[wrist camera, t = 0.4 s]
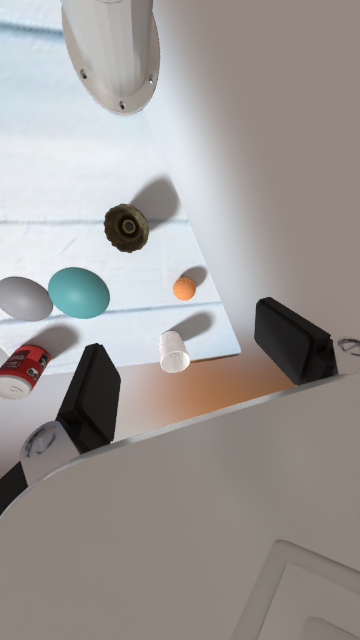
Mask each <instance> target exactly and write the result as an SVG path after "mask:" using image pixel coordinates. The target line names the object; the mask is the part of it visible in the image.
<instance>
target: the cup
mask: <svg viewBox="0 0 360 640" xmlns="http://www.w3.org/2000/svg"><path fill="white" fill-rule="evenodd" d="M127 222H131V223H132V224H133V229H132V230H131V231H128V230H127V229H126V228H125V224H126V223H127ZM104 226H105V234H106V235H107V236H106V237H107V239H108V240H109V241H111V242H112V246H115V247H117V249H118V250H119V251H121V252H128V253H132V251H136V250H138V249H139V250H140V249H142V247H143V246H144V245H145V244H146V243H147V240H148V235H149V231H148V223H147V221H146V219H145V217H144V216H143V215H142V213H141V212H140V211H139V210H137V209H136V208H135V207H134V206H131V205H127V204H120V205H119V206H115V207H114V208H111V209H110V211H108V212H107V213H106V215H105V221H104Z"/></svg>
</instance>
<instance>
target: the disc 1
mask: <svg viewBox="0 0 360 640" xmlns="http://www.w3.org/2000/svg"><path fill="white" fill-rule="evenodd" d="M52 307H53V304H52V300H51V299H50V296H49V294H48V293H47V292H46V291H45V290H44V289H43V288H42V287H41V286H40V285H38V284H36V283H35V282H33V281H30V280H28V279H24V278H18V277H11V278H6V279H3V280H1V281H0V308H1V309H2V310H3V311H4V312H6V313H7V314H9V315H10V316H12V317H14V318H17V319H20V320H24V321H39V320H42V319H44V318H46V317H47V316H48V315H49V314H50V313H51V311H52Z"/></svg>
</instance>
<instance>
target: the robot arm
mask: <svg viewBox="0 0 360 640" xmlns="http://www.w3.org/2000/svg"><path fill="white" fill-rule="evenodd" d="M60 1H61V3H62V8H61V10H62V27H63V33H64V39H65V43H66V46H67V50H68V53H69V56H70V59H71V61H72V64H73V66H74V69H75V71H76V73H77V75H78V77H79V79H80V81H81V82H82V84H83V85H84V87H85V89H86V90H87V91H88V93H89V94H90V95H91V96H92V98H93V99H94V100H95V101H96V102H98V103H99V104H100V105H101V106H102V107H104V108H105V109H107V110H108V111H110V112H112V113H115V114H118V115H131V114H135V113H137V112H139V111H140V110H142V109H143V108H144V107H145V106H146V105H147V103H148V102H149V101H150V99H151V97H152V95H153V93H154V91H155V88H156V84H157V80H158V74H159V66H160V47H159V38H158V32H157V27H156V23H155V20H154V16H153V13H152V6H153V0H60ZM84 76H86V77H87V78H86V79H84V78H83V77H84ZM149 81H152V82H153V84H151V83H150V82H149ZM121 106H124V109H122V108H121ZM330 336H331V335H330V334H329V333H327V332H325V331H324V330H322V329H321V328H319V327H317V326H316V325H314V324H313V323H311V322H309V321H308V320H306V319H305V318H303V317H301V316H300V315H298V314H297V313H295V312H293V311H292V310H290V309H289V308H287V307H285V306H284V305H282V304H281V303H279V302H278V301H276V300H274V299H273V298H271V297H267V298H263V299H260V300H259V301H258V302H257V304H256V317H255V335H254V338H255V341H256V343H257V344H258V345H259V346H260V347H261V348H262V349H263V350H264V351H265V353H266V354H267V355H268V356H269V357H270V358H271V359H272V360H273V361H274V362H275V363H276V365H277V366H278V367H279V368H280V369H281V370H282V371H283V372H284V373H285V374H286V376H288V378H289V379H290V380H291V381H292V382H293V383H294V384H295V385H298V386H296V387H293V388H289V389H286V390H283V391H279V392H276V393H273V394H270V395H266V396H263V397H259V398H256V399H253V400H249V401H246V402H243V403H240V404H236V405H233V406H230V407H226V408H223V409H220V410H217V411H213V412H210V413H207V414H204V415H200V416H198V417H194V418H191V419H187V420H184V421H181V422H178V423H175V424H171V425H169V426H165V427H162V428H158V429H155V430H152V431H149V432H146V433H142V434H139V435H136V436H133V437H130V438H127V439H124V440H121V441H118V442H115V443H112V444H110V442H111V441H113V439H114V432H115V425H116V416H117V408H118V400H119V392H120V383H121V378H120V375H119V373H118V371H117V370H116V368H115V366H114V364H113V363H112V361H111V359H110V357H109V355H108V354H107V352H106V350H105V348H104V347H103V345H99V344H98V343H95V344H91V345H88V346H86V347H85V350H84V352H83V354H82V357H81V359H80V362H79V364H78V366H77V369H76V371H75V374H74V376H73V378H72V381H71V383H70V385H69V388H68V391H67V393H66V395H65V397H64V400H63V402H62V405H61V408H60V409H59V412H58V415H57V417H56V419H55V421H51V422H47V423H45V424H43V425H42V426H40V427H39V428H37V429H36V430H35V431H34V432H33V433H32V434H31V435H30V436H29V437H28V438H27V440H26V441H25V443H24V444H23V446H22V448H21V451H20V461H19V462H18V463H17V464H16V465H15V466H14V467H13V468H12V469H11V470H10V471H9V472H7V473H6V475H4V476H3V477H2V478H1V479H0V640H360V339H359V338H355V337H347V336H344V337H338V338H336V339H335V340H334V341H333V340H332V339H330Z"/></svg>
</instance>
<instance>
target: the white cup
mask: <svg viewBox="0 0 360 640" xmlns="http://www.w3.org/2000/svg"><path fill="white" fill-rule="evenodd" d="M159 341H160V346H159V347H160V363H161V367H162V369H163V370H164V371H166V372H170V373H175V372H179V371H182V370H184V369H185V368H186V367H187V366H188V365H189V363H190V357H189V355H188V352H187V350H186V347H185V345H184V343H183V340H182V339H181V336H180V335H179V333H177V332H176V331H167V332H164V333H163V334H162V335H161V337H160V339H159Z"/></svg>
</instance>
